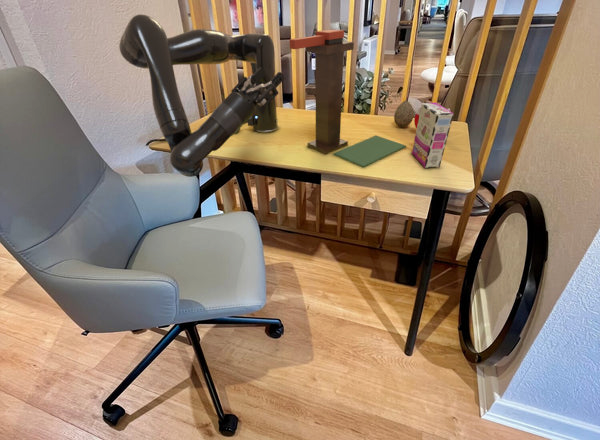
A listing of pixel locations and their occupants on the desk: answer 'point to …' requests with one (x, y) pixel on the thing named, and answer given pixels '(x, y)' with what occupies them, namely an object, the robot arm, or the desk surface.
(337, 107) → the stand
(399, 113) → the decorative egg
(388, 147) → the felt mat
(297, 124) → the desk surface
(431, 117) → the candy bar box
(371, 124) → the desk surface
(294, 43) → the brush
